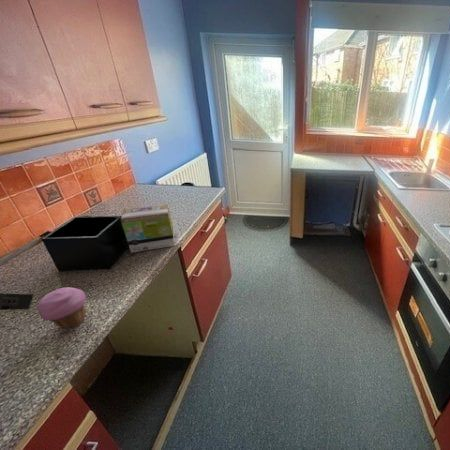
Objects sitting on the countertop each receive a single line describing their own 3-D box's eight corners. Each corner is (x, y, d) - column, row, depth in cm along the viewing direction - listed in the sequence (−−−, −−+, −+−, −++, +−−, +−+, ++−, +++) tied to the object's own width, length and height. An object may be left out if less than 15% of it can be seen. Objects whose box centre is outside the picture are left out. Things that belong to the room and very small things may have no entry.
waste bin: (58, 271, 82) (41, 238, 76) (87, 245, 95) (75, 216, 90) (109, 269, 84) (96, 237, 78) (131, 244, 97) (122, 215, 91)
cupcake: (89, 328, 63) (74, 299, 58) (45, 341, 60) (24, 311, 55) (96, 304, 70) (83, 277, 65) (57, 314, 67) (40, 286, 62)
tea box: (130, 254, 92) (118, 218, 85) (133, 241, 100) (123, 207, 93) (175, 246, 98) (167, 212, 91) (175, 234, 105) (167, 202, 99)
